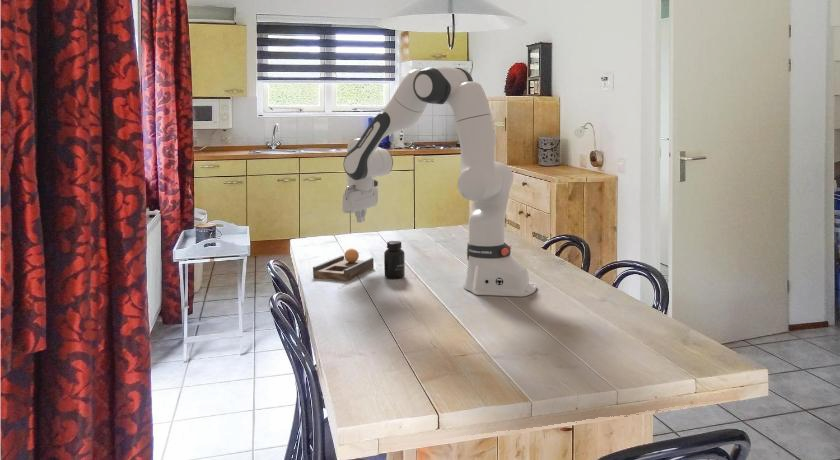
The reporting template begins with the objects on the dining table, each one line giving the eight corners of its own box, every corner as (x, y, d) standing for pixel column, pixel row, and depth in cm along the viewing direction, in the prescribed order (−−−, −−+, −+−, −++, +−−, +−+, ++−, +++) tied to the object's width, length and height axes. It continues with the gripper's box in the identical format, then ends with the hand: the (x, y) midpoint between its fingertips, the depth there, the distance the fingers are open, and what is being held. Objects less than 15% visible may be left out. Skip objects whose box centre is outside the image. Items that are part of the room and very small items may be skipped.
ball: (361, 261, 238) (361, 247, 237) (354, 264, 234) (354, 250, 233) (349, 260, 240) (348, 246, 239) (342, 263, 236) (341, 249, 235)
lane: (373, 268, 238) (373, 258, 238) (346, 281, 221) (346, 270, 221) (341, 265, 243) (341, 255, 243) (313, 277, 226) (312, 267, 226)
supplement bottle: (402, 279, 222) (401, 244, 219) (382, 279, 223) (381, 243, 221) (406, 274, 228) (406, 240, 226) (387, 274, 230) (386, 239, 227)
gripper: (353, 187, 228) (354, 227, 231) (380, 181, 247) (381, 218, 249) (337, 186, 231) (338, 226, 234) (365, 180, 249) (366, 216, 252)
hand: (360, 221), depth 242 cm, fingers closed
